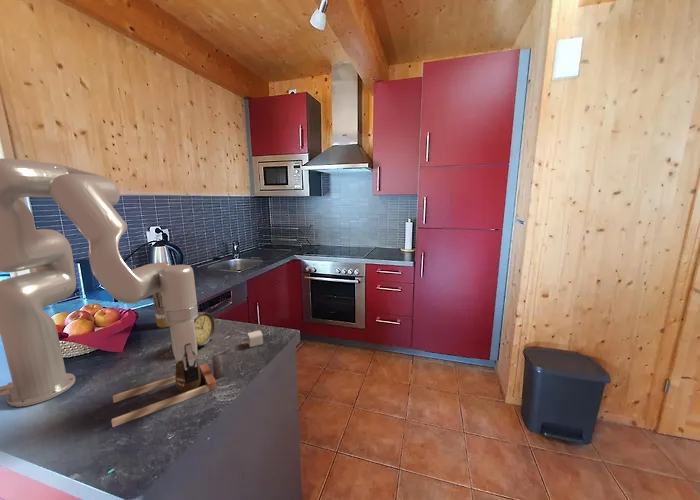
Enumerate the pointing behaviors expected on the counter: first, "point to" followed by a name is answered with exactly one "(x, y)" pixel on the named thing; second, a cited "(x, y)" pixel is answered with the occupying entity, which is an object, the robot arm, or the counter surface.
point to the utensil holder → (180, 378)
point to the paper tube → (159, 307)
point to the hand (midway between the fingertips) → (188, 372)
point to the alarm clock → (203, 328)
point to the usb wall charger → (253, 338)
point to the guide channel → (157, 406)
